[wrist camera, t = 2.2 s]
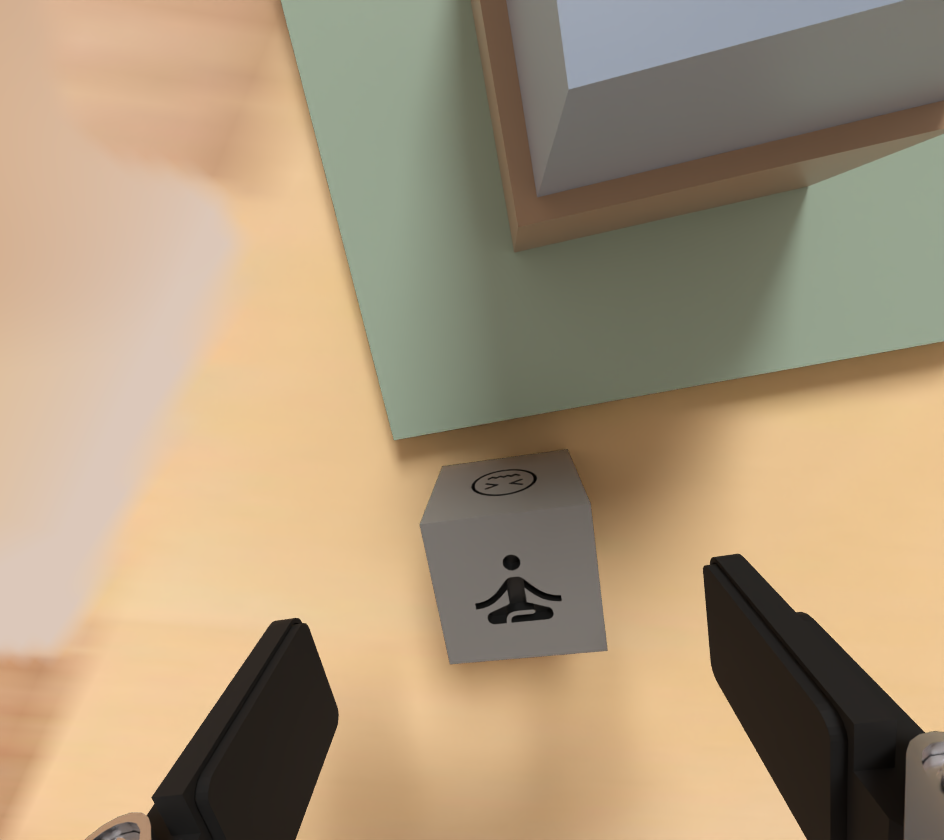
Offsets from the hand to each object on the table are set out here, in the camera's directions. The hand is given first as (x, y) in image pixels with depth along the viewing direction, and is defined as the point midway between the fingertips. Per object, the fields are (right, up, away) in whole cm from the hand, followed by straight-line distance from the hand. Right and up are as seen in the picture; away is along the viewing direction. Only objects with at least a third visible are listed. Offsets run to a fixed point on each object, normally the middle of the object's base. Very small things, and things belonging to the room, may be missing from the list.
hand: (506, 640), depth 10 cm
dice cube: (+1, +1, +8) cm, 8 cm away
